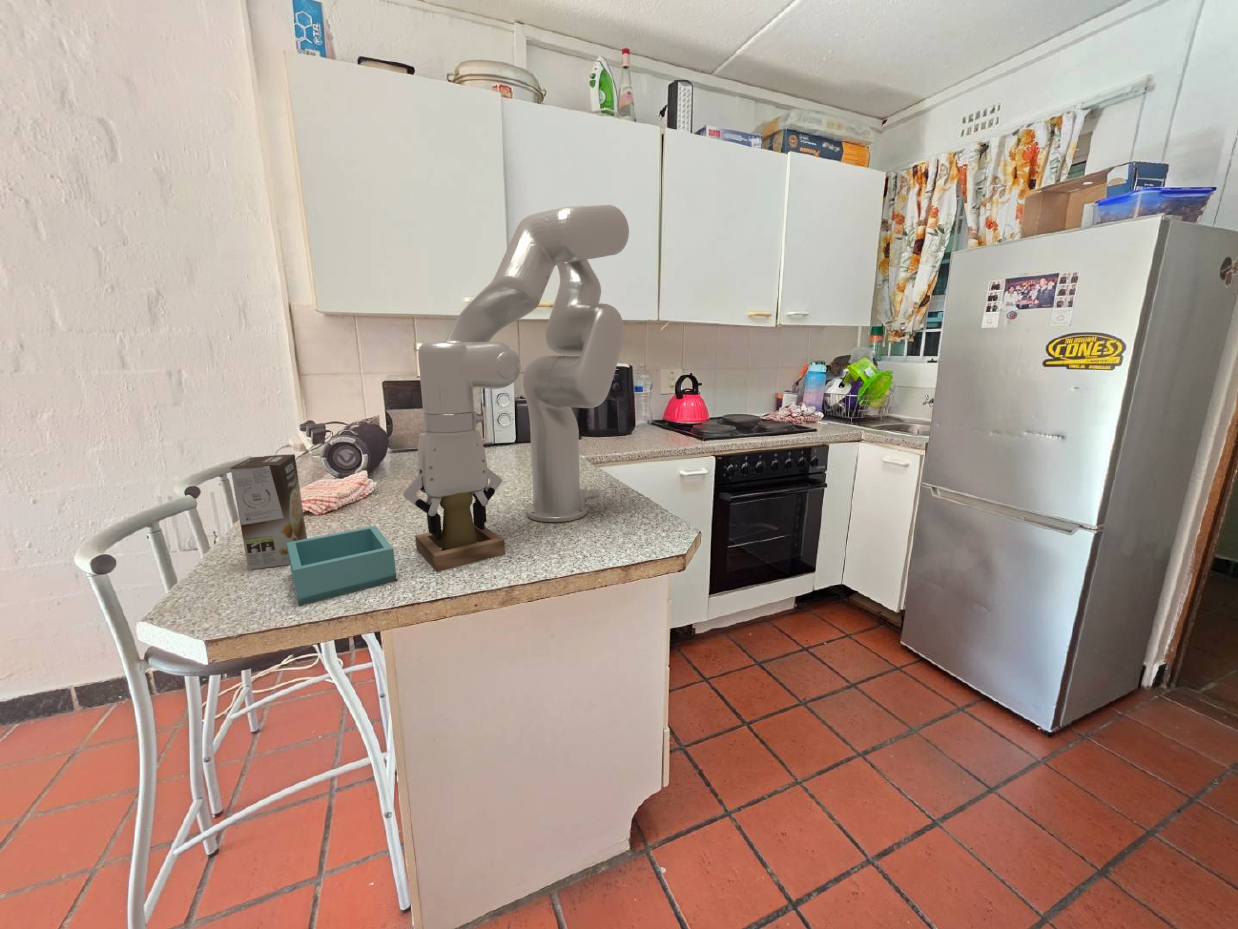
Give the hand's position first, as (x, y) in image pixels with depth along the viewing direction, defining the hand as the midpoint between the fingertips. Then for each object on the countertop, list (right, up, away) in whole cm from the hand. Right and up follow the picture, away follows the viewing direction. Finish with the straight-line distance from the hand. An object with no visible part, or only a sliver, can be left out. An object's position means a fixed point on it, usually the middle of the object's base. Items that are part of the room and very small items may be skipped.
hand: (458, 531), depth 80 cm
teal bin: (-14, -6, -8) cm, 17 cm away
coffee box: (-29, -4, -1) cm, 29 cm away
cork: (0, -4, +1) cm, 4 cm away
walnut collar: (0, -4, +1) cm, 4 cm away
